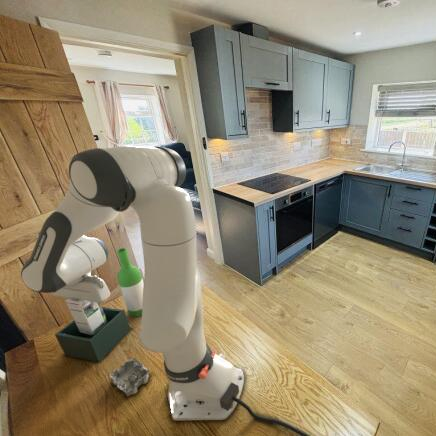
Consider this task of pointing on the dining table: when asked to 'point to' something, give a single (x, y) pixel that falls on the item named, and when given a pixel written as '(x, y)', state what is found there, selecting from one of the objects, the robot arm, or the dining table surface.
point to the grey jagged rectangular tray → (130, 376)
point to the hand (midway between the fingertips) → (85, 306)
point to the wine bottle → (130, 284)
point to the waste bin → (94, 337)
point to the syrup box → (86, 316)
